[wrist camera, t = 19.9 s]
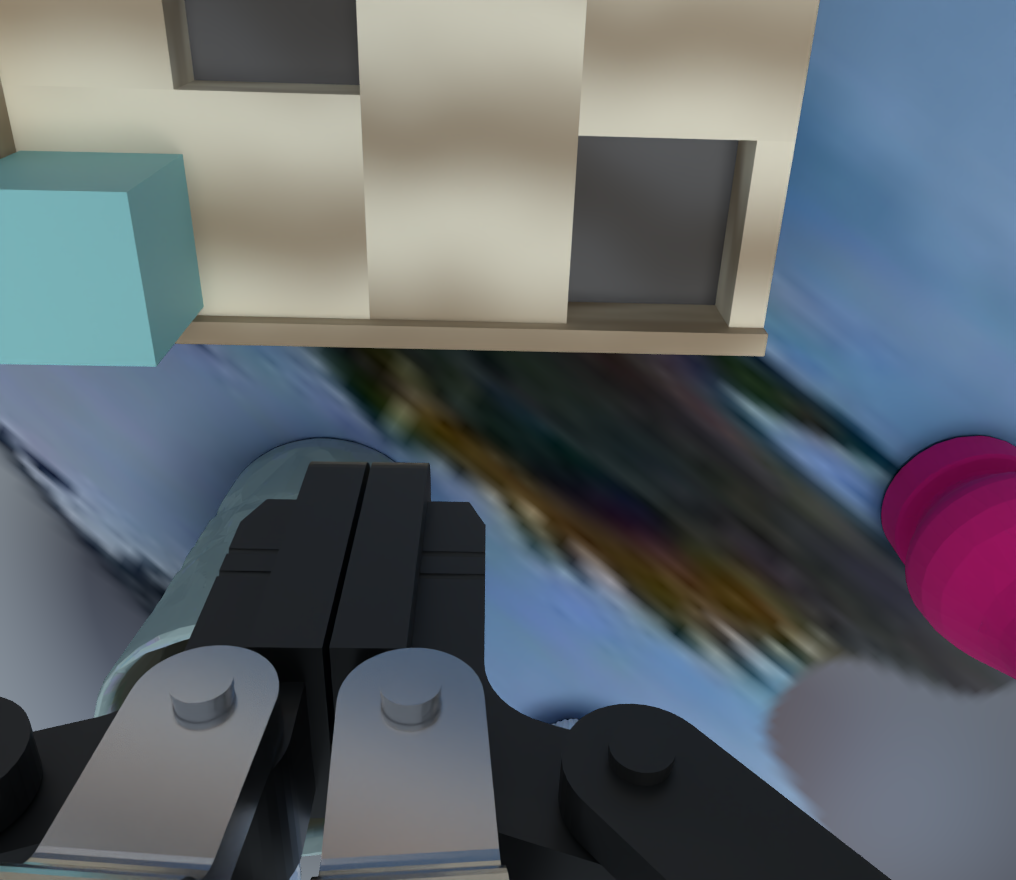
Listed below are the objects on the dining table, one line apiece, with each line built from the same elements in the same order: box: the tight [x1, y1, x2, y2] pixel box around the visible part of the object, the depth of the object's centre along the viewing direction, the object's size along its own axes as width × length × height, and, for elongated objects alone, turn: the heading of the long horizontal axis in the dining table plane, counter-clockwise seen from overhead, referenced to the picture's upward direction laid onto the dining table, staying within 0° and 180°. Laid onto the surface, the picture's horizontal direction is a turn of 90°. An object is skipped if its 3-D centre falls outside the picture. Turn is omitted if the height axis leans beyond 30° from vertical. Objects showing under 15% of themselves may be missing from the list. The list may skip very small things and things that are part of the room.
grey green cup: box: [94, 438, 394, 856], centre depth 33 cm, size 10×10×12 cm
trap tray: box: [0, 0, 820, 356], centre depth 28 cm, size 15×25×4 cm, turn 88°
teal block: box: [0, 151, 204, 367], centre depth 28 cm, size 5×5×5 cm
